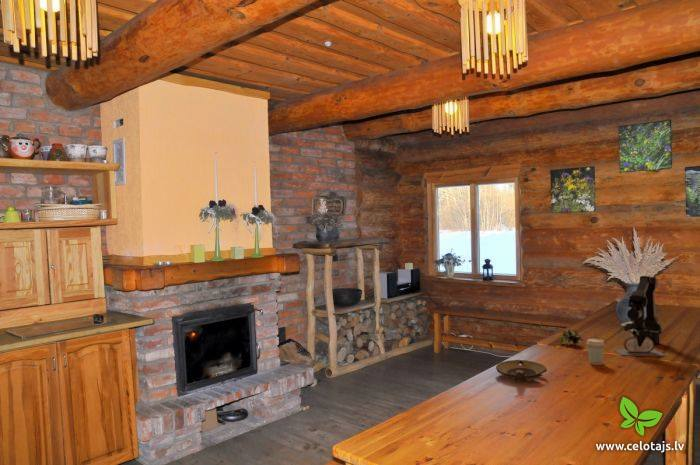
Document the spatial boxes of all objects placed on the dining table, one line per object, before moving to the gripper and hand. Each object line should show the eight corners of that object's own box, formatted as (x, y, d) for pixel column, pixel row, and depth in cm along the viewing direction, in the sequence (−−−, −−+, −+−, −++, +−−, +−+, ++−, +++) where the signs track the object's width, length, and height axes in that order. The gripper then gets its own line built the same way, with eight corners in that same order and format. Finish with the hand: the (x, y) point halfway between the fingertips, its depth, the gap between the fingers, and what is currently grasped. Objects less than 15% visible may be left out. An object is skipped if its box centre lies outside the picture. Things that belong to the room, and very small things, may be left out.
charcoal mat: (655, 350, 287) (655, 349, 287) (665, 356, 275) (665, 355, 275) (613, 350, 290) (613, 349, 290) (621, 355, 279) (621, 354, 279)
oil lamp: (554, 375, 246) (554, 359, 246) (529, 391, 224) (529, 374, 224) (509, 367, 261) (509, 352, 261) (481, 382, 238) (481, 365, 238)
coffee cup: (607, 366, 259) (607, 342, 259) (588, 365, 261) (588, 341, 261) (602, 361, 268) (602, 338, 268) (584, 361, 269) (584, 338, 269)
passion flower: (574, 353, 306) (587, 338, 303) (567, 353, 299) (580, 337, 295) (559, 340, 314) (571, 325, 310) (551, 340, 306) (564, 324, 302)
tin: (652, 351, 283) (652, 336, 283) (655, 353, 280) (654, 337, 280) (623, 351, 285) (622, 335, 285) (625, 352, 282) (624, 336, 282)
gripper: (616, 314, 293) (616, 341, 293) (629, 320, 274) (629, 349, 275) (637, 314, 291) (637, 342, 291) (651, 320, 273) (652, 350, 273)
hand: (638, 345), depth 283 cm, fingers closed on tin, 2 cm apart
